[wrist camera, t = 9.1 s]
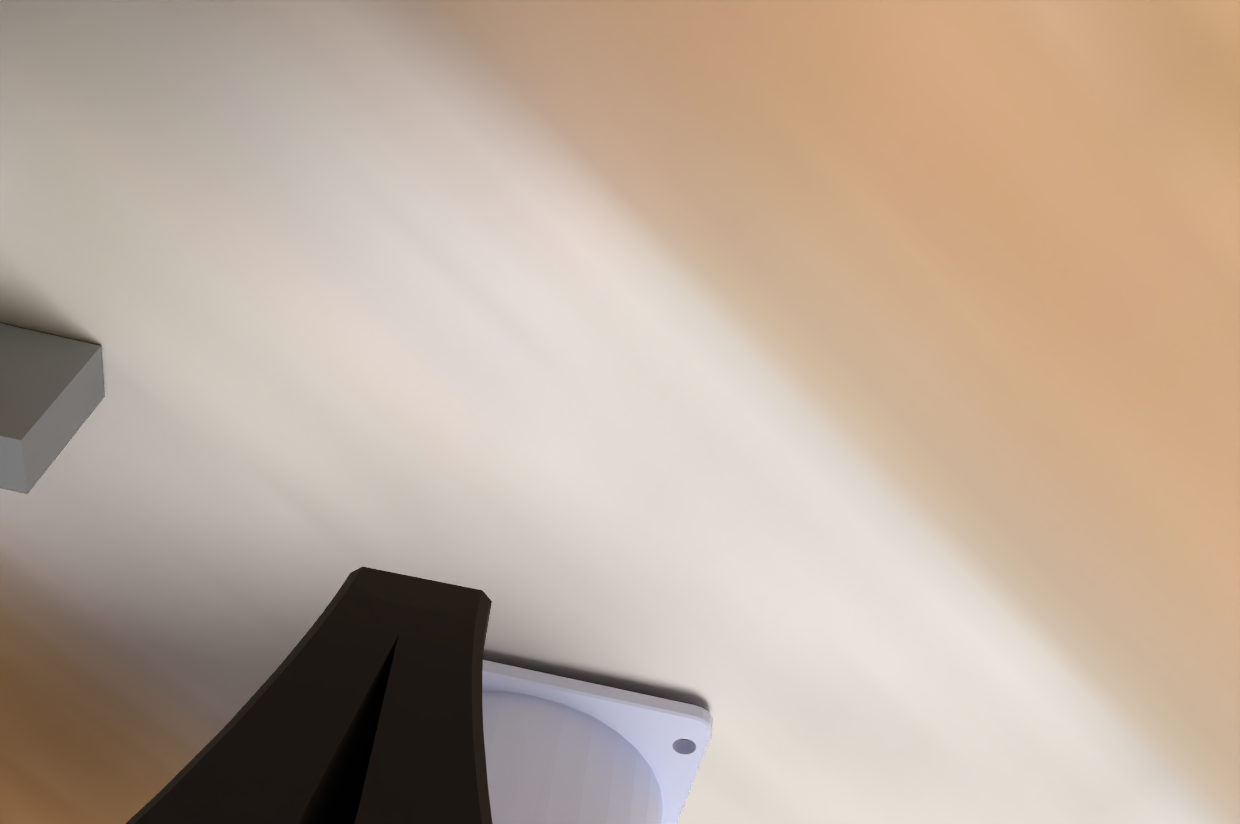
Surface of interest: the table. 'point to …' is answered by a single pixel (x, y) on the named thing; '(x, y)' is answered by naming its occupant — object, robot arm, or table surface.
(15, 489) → the u rest
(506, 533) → the table surface
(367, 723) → the robot arm
